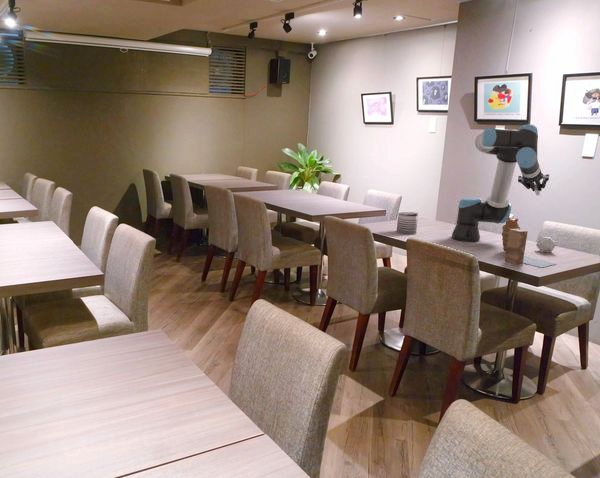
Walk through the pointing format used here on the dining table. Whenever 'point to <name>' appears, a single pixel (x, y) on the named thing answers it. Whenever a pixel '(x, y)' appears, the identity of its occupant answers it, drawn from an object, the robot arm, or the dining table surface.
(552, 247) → the grey knobbly ball
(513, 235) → the block
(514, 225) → the cat ice cream
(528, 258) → the mat
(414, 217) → the can
